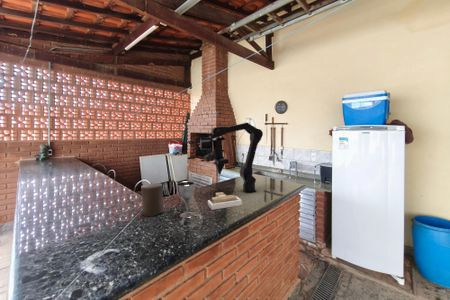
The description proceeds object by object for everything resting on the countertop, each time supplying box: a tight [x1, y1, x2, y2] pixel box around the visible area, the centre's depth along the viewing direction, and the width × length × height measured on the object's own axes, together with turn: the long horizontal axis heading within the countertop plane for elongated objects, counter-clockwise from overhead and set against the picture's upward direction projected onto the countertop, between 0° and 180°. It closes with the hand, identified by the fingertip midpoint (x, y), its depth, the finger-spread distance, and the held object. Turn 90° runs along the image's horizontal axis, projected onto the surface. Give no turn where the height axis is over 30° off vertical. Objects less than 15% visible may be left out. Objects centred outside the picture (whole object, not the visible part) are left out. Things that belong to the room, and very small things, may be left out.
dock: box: [207, 195, 243, 211], centre depth 108 cm, size 16×8×2 cm, turn 108°
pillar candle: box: [140, 182, 165, 217], centre depth 101 cm, size 10×10×15 cm
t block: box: [211, 191, 237, 204], centre depth 112 cm, size 11×12×4 cm
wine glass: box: [176, 180, 196, 219], centre depth 96 cm, size 8×8×15 cm
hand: (219, 174), depth 125 cm, fingers closed
